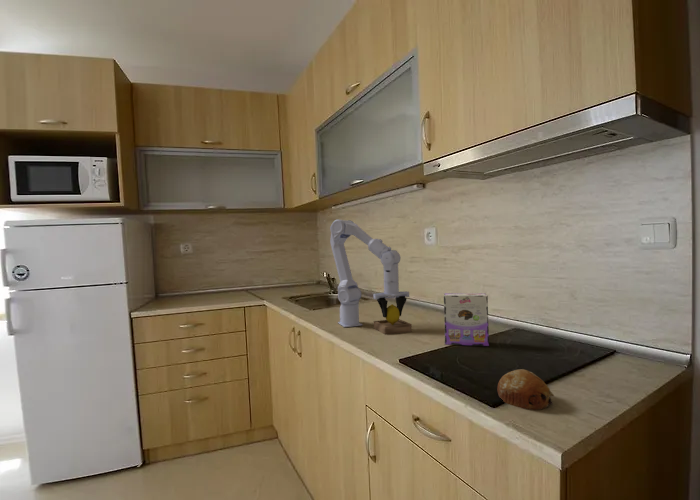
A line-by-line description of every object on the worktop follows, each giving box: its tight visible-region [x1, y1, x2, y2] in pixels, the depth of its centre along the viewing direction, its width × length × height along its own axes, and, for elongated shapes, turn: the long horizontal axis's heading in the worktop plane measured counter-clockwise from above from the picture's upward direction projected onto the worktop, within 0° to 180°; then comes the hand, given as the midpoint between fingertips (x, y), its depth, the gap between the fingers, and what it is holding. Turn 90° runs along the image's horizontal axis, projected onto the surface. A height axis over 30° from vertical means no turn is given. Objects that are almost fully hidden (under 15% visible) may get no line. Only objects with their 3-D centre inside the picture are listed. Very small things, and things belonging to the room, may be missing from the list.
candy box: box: [443, 292, 490, 347], centre depth 119 cm, size 14×6×16 cm, turn 74°
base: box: [373, 318, 413, 335], centre depth 140 cm, size 11×11×3 cm
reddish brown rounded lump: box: [496, 368, 555, 411], centre depth 76 cm, size 10×10×8 cm
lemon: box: [385, 304, 401, 325], centre depth 140 cm, size 6×6×8 cm
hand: (392, 316), depth 140 cm, fingers closed on lemon, 5 cm apart
